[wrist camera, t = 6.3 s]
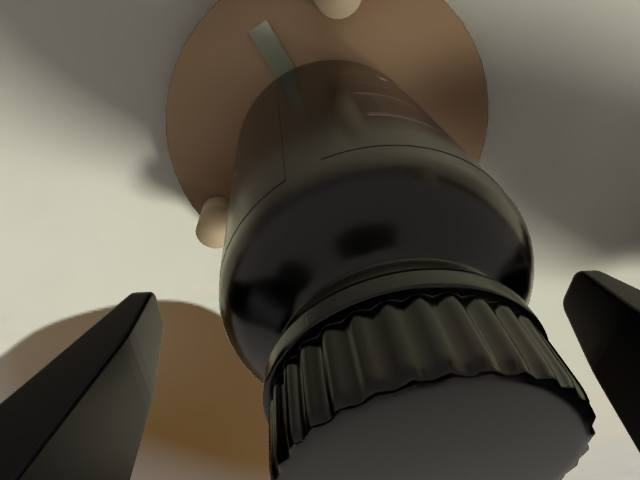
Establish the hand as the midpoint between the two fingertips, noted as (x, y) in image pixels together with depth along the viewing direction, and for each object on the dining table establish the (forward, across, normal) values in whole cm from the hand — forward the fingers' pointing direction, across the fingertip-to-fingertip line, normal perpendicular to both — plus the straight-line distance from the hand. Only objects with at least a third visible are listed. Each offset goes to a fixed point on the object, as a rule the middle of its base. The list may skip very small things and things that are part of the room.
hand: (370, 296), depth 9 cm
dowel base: (+9, 0, 0) cm, 9 cm away
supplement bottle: (+8, 0, 0) cm, 9 cm away
